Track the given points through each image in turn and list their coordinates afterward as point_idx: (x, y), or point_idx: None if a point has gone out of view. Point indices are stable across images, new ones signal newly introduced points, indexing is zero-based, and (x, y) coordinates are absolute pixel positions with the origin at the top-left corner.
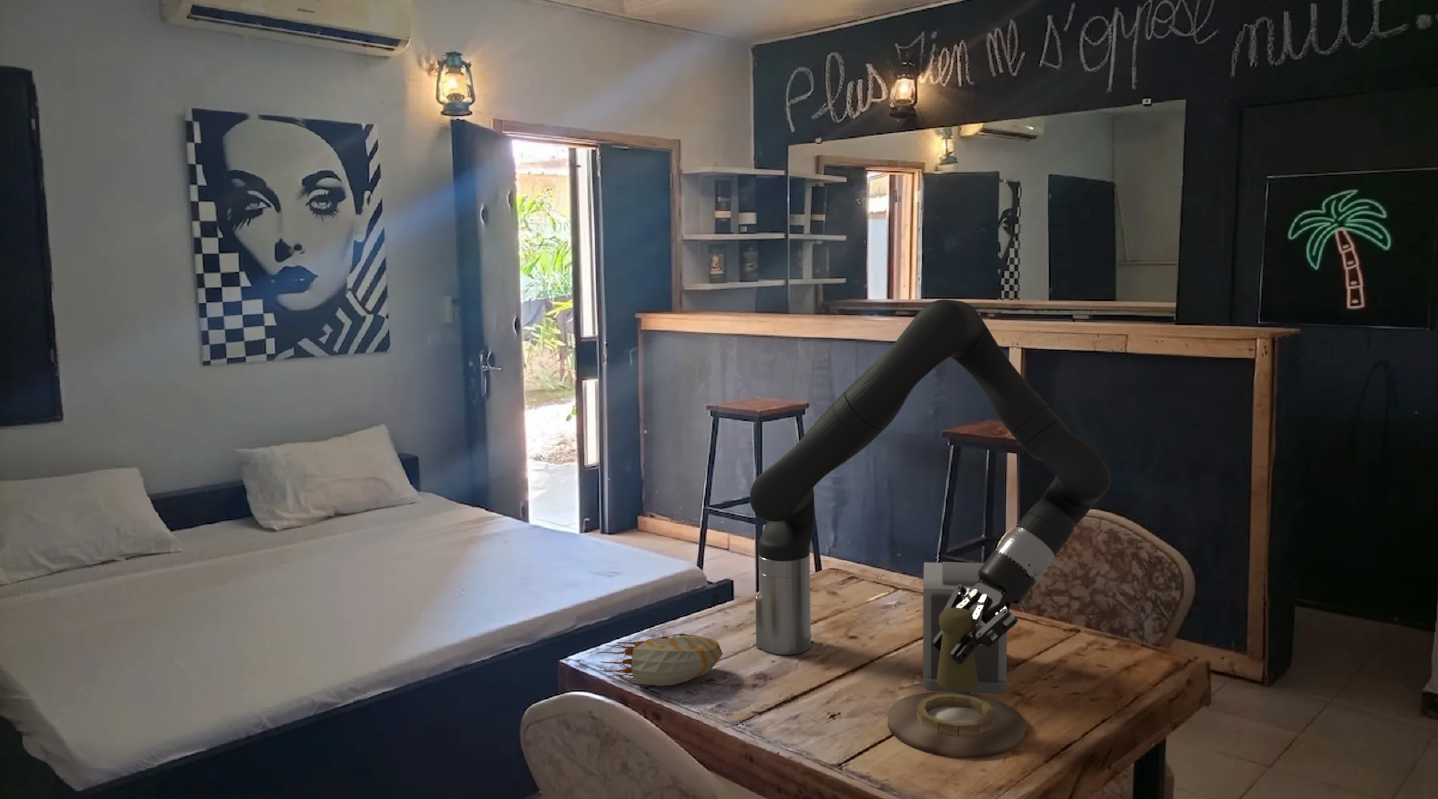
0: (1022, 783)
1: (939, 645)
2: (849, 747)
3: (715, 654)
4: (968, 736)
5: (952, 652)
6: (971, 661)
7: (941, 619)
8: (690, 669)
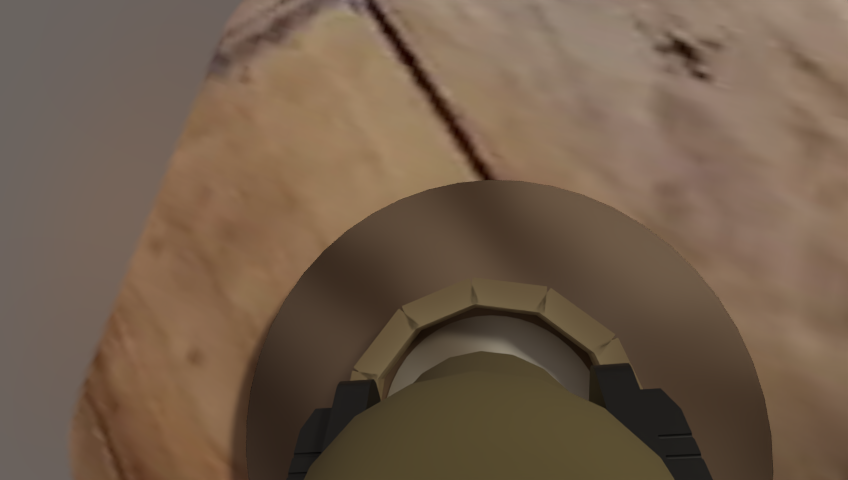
0: (87, 428)
1: None
2: (448, 39)
3: None
4: None
5: (351, 395)
6: None
7: (472, 378)
8: None
